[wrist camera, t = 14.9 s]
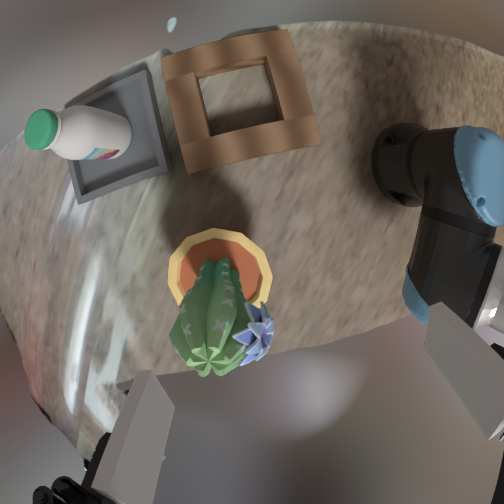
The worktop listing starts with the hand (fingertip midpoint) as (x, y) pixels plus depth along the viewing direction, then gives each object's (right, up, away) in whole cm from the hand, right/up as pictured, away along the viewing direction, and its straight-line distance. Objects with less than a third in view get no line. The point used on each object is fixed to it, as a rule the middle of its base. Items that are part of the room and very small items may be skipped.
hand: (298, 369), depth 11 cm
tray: (-26, +25, +28) cm, 45 cm away
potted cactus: (-7, +4, +35) cm, 36 cm away
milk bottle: (-25, +24, +27) cm, 44 cm away
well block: (-4, +29, +27) cm, 40 cm away
